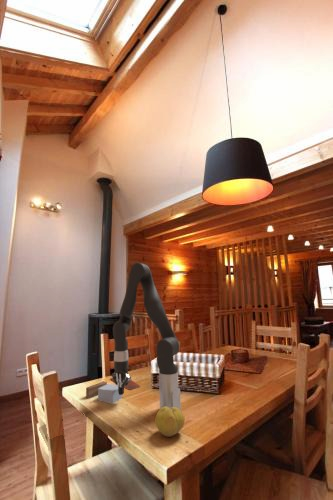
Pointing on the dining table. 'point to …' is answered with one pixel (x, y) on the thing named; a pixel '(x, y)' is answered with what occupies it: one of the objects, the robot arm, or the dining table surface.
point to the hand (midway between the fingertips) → (121, 394)
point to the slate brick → (109, 393)
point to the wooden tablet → (130, 385)
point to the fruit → (169, 420)
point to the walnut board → (94, 389)
